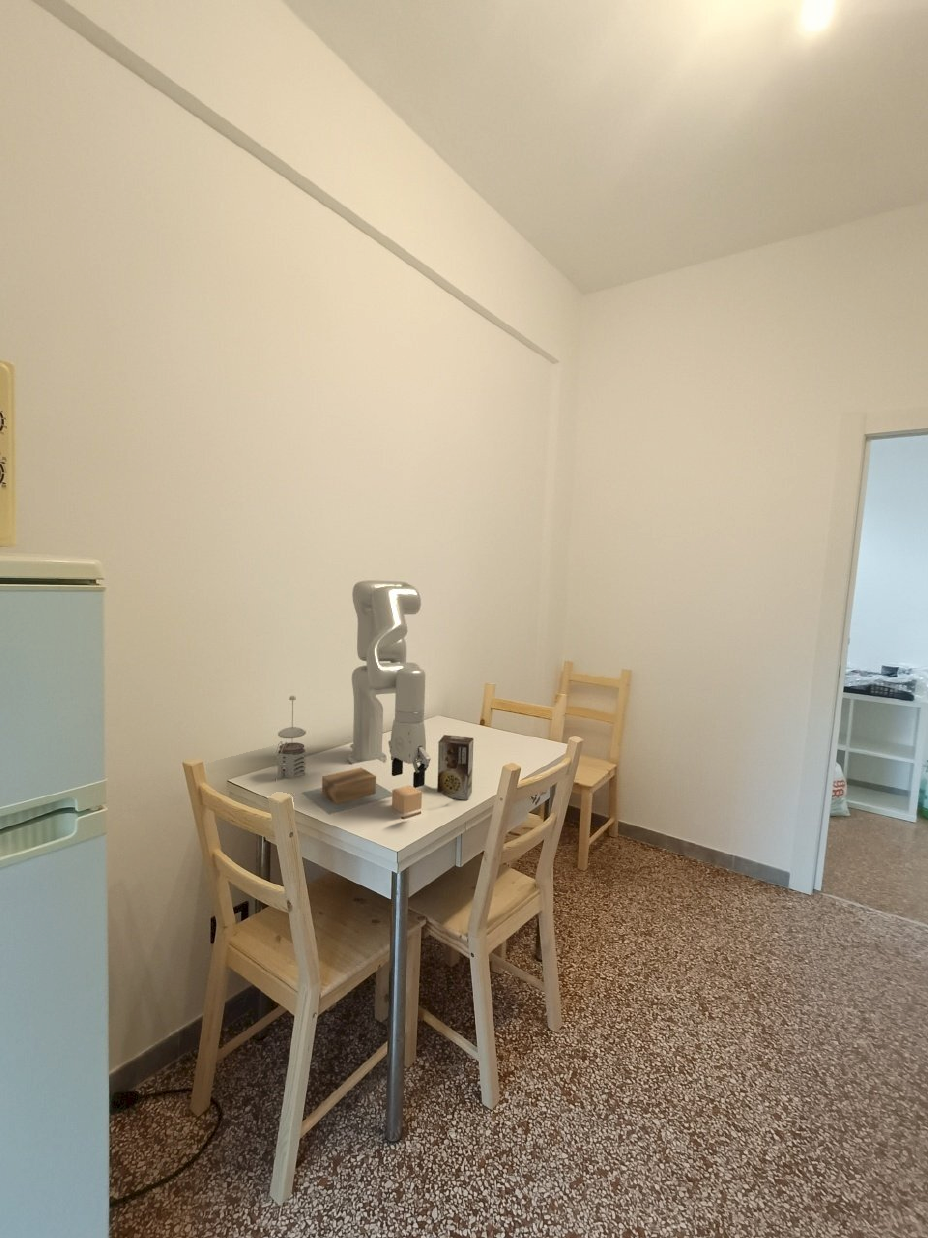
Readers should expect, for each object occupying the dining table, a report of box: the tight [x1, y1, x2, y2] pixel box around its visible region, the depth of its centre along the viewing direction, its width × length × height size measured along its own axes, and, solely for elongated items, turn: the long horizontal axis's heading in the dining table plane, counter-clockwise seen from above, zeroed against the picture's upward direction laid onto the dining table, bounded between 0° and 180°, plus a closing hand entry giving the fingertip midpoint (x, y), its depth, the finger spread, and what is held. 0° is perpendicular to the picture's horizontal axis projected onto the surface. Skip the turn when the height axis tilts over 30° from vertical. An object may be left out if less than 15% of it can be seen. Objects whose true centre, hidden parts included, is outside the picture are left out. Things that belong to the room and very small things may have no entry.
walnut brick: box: [321, 767, 377, 804], centre depth 149 cm, size 8×12×5 cm, turn 131°
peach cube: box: [391, 784, 423, 820], centre depth 142 cm, size 6×6×6 cm
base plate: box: [301, 783, 392, 815], centre depth 149 cm, size 16×20×2 cm
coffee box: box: [436, 734, 474, 800], centre depth 155 cm, size 9×6×16 cm
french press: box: [274, 695, 307, 782], centre depth 161 cm, size 10×12×25 cm
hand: (407, 780), depth 141 cm, fingers open, 9 cm apart
